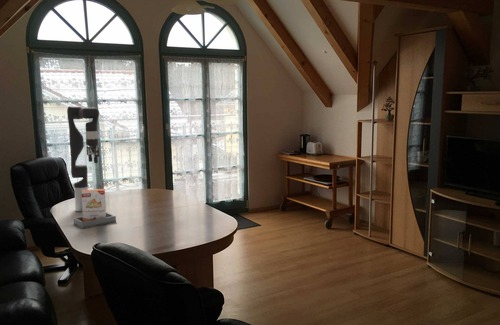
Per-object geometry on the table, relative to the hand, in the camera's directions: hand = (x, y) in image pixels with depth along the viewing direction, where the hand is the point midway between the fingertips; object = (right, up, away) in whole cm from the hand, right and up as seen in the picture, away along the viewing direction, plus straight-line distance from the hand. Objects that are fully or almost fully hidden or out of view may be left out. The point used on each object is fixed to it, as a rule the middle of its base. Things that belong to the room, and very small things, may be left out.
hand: (93, 162), depth 277 cm
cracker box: (+4, -39, -8) cm, 40 cm away
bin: (+4, -40, -8) cm, 40 cm away
